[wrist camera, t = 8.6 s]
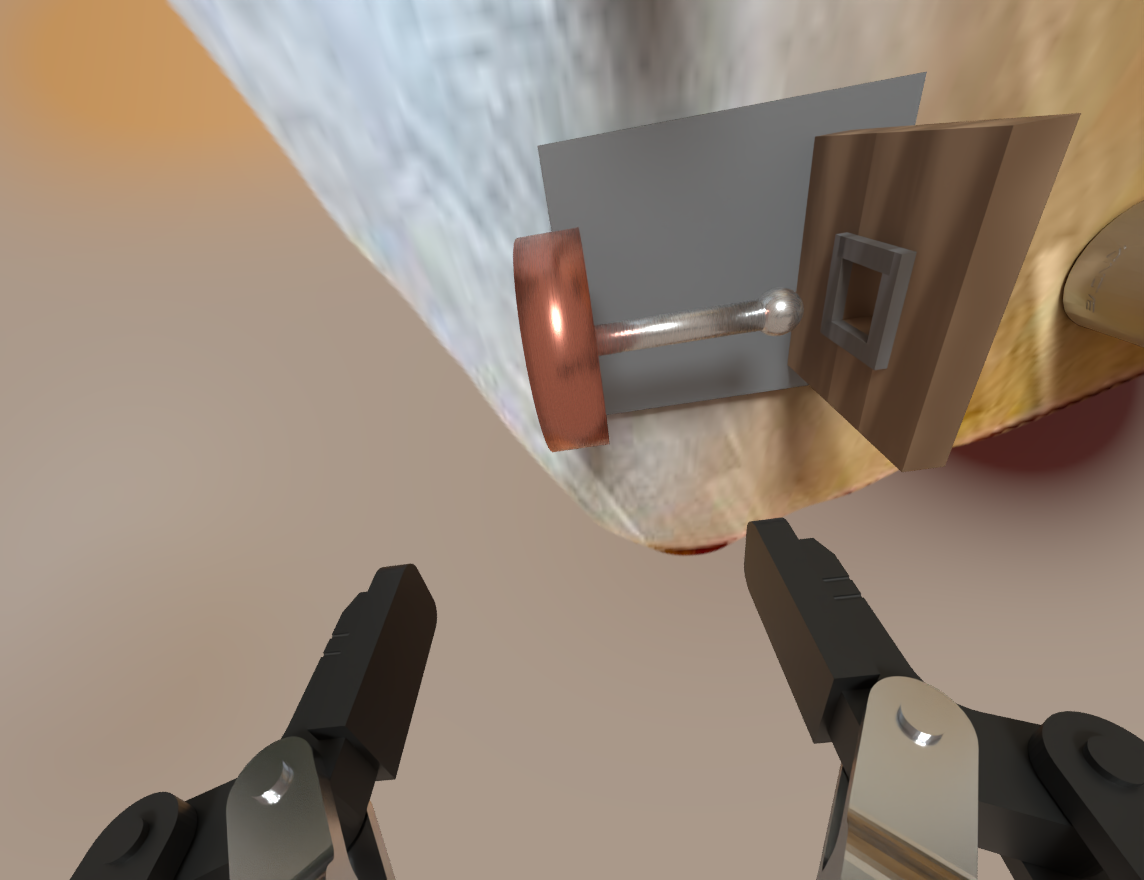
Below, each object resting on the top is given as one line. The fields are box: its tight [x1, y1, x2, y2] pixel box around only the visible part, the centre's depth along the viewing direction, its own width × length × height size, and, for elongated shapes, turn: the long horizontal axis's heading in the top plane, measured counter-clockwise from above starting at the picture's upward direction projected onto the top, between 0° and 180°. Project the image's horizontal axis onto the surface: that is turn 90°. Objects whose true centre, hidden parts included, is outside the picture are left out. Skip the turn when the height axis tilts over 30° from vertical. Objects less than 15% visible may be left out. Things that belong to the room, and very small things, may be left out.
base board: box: [538, 72, 927, 415], centre depth 30 cm, size 21×18×2 cm
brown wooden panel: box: [787, 113, 1081, 472], centre depth 23 cm, size 3×14×13 cm, turn 9°
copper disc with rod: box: [513, 227, 804, 452], centre depth 23 cm, size 14×11×11 cm
